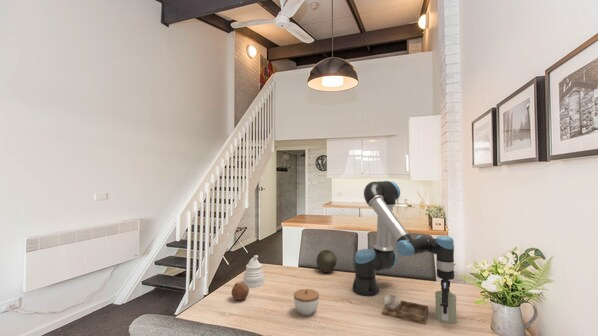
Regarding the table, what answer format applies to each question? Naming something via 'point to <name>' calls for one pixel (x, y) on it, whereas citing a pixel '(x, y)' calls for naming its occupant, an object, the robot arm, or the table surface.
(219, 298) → the table surface
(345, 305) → the table surface
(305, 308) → the lidded bowl
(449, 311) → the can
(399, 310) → the caddy
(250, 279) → the honey pot
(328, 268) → the cantaloupe
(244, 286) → the onion
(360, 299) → the table surface
